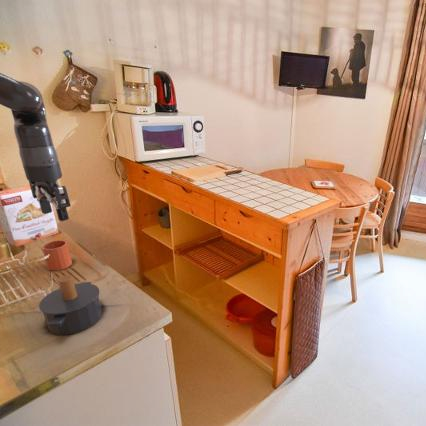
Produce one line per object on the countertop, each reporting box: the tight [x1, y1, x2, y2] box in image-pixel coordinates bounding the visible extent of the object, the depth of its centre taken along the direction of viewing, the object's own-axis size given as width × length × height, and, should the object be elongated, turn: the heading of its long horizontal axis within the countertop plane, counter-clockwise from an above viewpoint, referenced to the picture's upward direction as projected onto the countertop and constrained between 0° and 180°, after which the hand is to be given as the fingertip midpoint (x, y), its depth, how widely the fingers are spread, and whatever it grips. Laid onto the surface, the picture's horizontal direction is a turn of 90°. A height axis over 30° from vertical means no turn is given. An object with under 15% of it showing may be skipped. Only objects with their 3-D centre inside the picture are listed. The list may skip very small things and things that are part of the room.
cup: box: [41, 239, 73, 271], centre depth 105 cm, size 6×6×9 cm
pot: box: [42, 281, 103, 337], centre depth 85 cm, size 12×17×7 cm
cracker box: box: [0, 184, 60, 248], centre depth 117 cm, size 14×6×21 cm, turn 154°
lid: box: [38, 274, 100, 315], centre depth 82 cm, size 13×13×7 cm
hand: (55, 216), depth 92 cm, fingers open, 8 cm apart
